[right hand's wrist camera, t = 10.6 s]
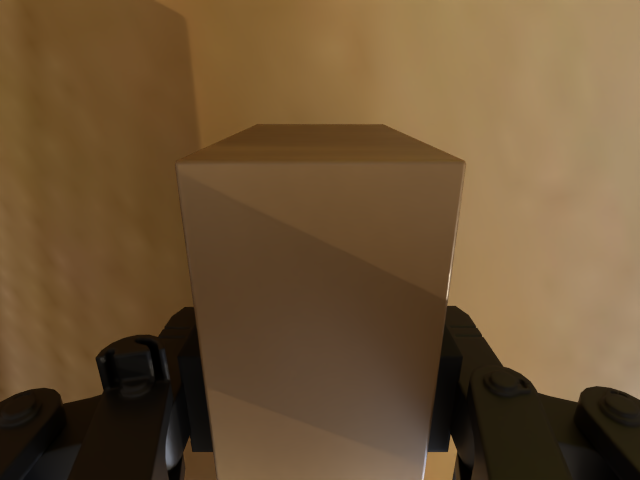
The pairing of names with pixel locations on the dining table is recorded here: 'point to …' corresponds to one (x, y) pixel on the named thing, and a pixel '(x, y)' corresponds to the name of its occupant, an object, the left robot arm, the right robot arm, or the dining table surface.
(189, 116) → the dining table surface
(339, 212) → the beam
